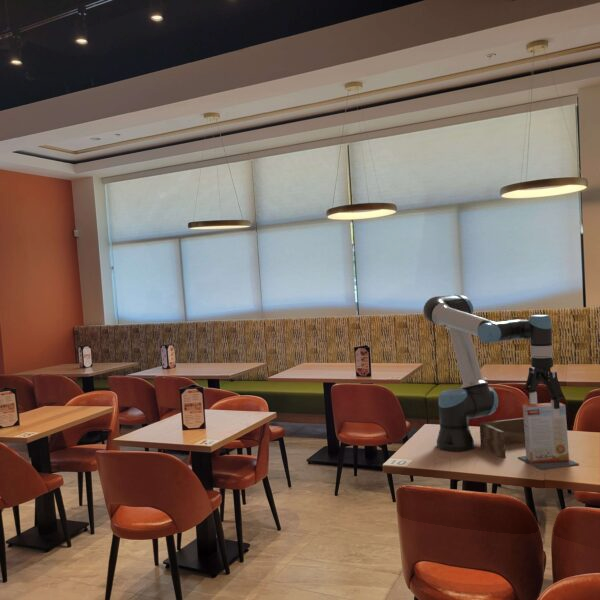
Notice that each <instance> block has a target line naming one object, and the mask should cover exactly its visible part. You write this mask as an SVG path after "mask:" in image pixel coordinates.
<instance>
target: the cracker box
mask: <svg viewBox="0 0 600 600" xmlns="http://www.w3.org/2000/svg"><path fill="white" fill-rule="evenodd" d="M559 405H560V408H559V414H560V417H557V418H552V415H551V402H543V403H541V402H540V403H537V404H530V403H527V404H525V403H524V404H522V413H523V414H522V415H523V416H522V418H524V432H525V443H524V445H525V456H526V459H528V460H529V461H530V462H531V463H535V462H554V461H569V460H570V455H569V454H570V453H569V438H568V424H567V410H566V404H564V403H562V402H560V401H559Z"/></svg>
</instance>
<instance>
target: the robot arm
mask: <svg viewBox="0 0 600 600" xmlns="http://www.w3.org/2000/svg"><path fill="white" fill-rule="evenodd" d="M422 312H423V315H424V317H425V319H426V320H427V321H428V322H430V323H432V324H435V325H438V326H442V325H443V326H444V329H446V330H448V332H449V335H450V338H451V343H452V346H453V350H454V351H453V352H454V354H455V358H456V362H457V366H458V369H459V375H460V377H461V380H462V384H461V386H460V388H450V389H446V390H442V391H441V392H440V393H439V395H438V403H437V405H438V411H439V413H438V415H439V431H438V435H437V438H436V448H438V449H439V448H440V449H439V450H442V451H446V450H448V451H447V452H465V450H466V451H469V450H472V449H474V448H475V441H474V437H473V435H472V433H471V431H470V427H469V426H470V425H469V420H471V419H472V420H473V419H476V418H482V417H487V416H490V415H493V413H495V412H496V411H497V408H498V406H499V397H498V394H497V392H496V391H495V389H494V388H492V387H490V386H489V382H488V381H486V380H485V379H484V378H483V374H482V371H481V367H480V363H479V359H478V356H477V353H476V349H475V345H474V342H473V338H472V335H473V336H475V337H478V339H479V340H480V341H481V342H482V343H483V344H484V343H485V344H494V343H500V342H501V343H502V342H506V341H508V342H509V341H514V340H515V341H516V340H527V341H529V343H530V356H531V358H530V365H531V366H530V367H528V374H527V379H526V383H525V386H524V389H525V391H527V392H528V398H529V404H538V393H537V389H538V387H539V385H540V383H543V384H544V385H545V386H546V389H547V390H548V393H549V395H550V398H551V399H550V403H551V415H552V418H557V417H560V414H559V408H560V405H559V402H560V400H561V399H562V400H563V399H564V394H563V391H562V388H561V385H560V382H559V379H558V373H557V371H551V369H552V368H553V367H554V358H553V353H554V352H553V329H552V328H553V325H552V319H551V318H552V317H551V316H550V315H548V314H532V315H530V316H529V319H519V318H512V319H510V318H509V319H506V320H501V321H495V320H491V319H487V318H485V317H483V316H482V317H481V316H477V315H475V314H474V306H473V303H472V301H471V300H470V299H469V297H467V296H465V295H463V294H453V295H452V294H450V295H441V296H440V295H439V296H438V295H437V296H433V297H431V298H429V299H428V300H426V302H425V303H424V306H423V310H422Z"/></svg>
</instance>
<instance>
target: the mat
mask: <svg viewBox="0 0 600 600" xmlns="http://www.w3.org/2000/svg"><path fill="white" fill-rule="evenodd" d="M517 459H519V460H521V461H523V462H525V463H527V464H529V465H531V466H533V467H534V468H537V469H538V470H540V471H542V470H544V471H545V470H551V468H552V469H558V468H557V467H560V468H566V466H567V467H573V465H575V466H579V465H580V463H578V462H576V461H573V460H571V459H569V461H554V462H535V463H531V462H530V461H529V460H528V459H526V455H523V456H522V455H521V456H518V457H517Z"/></svg>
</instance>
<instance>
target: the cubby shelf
mask: <svg viewBox="0 0 600 600" xmlns="http://www.w3.org/2000/svg"><path fill="white" fill-rule="evenodd" d="M479 435H480V436H479V438H480V447H481V448H482V447H483V448H482V449H485V450H486V451H488V452H490V453H491V454H494V455H496V456H497V457H500V458H501V459H504V458H506V455H507V454H506V446H507V445H509V446H510V445H517V444H525V432H524V418H523V417H519V418H511V419H510V418H509V419H501V420H492V421H491V420H490V421H483V422H479Z"/></svg>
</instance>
